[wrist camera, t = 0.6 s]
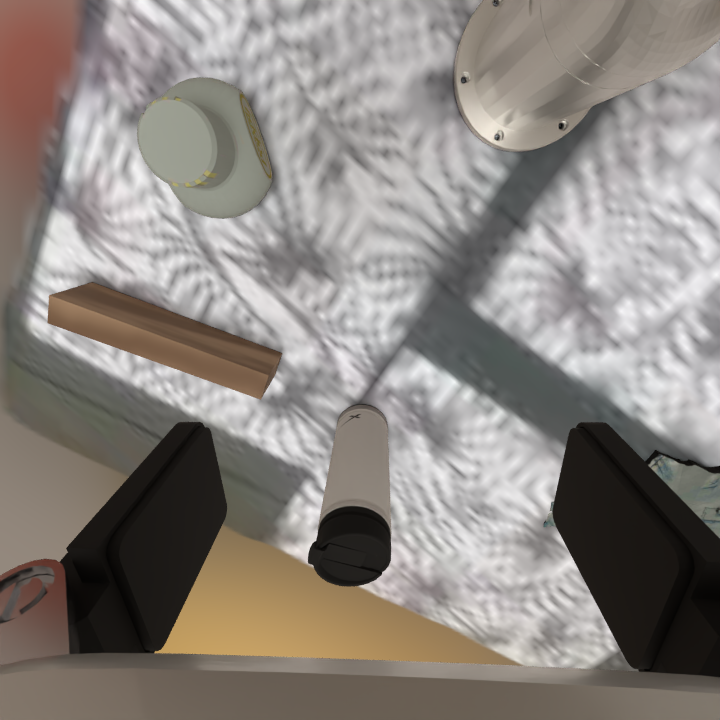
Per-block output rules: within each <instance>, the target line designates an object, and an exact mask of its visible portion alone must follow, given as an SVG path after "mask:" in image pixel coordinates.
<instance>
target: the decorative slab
mask: <svg viewBox="0 0 720 720" xmlns="http://www.w3.org/2000/svg"><path fill="white" fill-rule="evenodd" d="M645 462H646V463H647V465H648V466H649V467H650V468H651V469H652V470H653V471H654V472H655V473H656V474H657V475H658V476H659V477H660V478H661V479H662V480H663V481H664V482H665V483H666V484H667V485H668V486H669V487H670V488H671V489H672V490H673V491H674V492H675V493H676V494H677V495H678V496H679V497H680V498H681V499H682V500H683V501H684V502H685V503H686V504H687V505H688V506H689V507H690V508H691V509H692V510H693V512H694V513H695V514H696V515H697V516H698V517H699V518H700V519H701V520H702V521H703V522H704V523H705V524H706V525H707V526H708V527H709V528H710V529H711V530H712V531H713V532H714V533H715V534H716V535H717V536H718V537H719V538H720V466H719V467H702V466H700V465H699V464H697V463H696V462H693V461H691V460H687V461H680V460H679V459H675V458H672V457H670V456H668V455H665V454H662V453H659V452H658V451H656V450H655V451H654V453H653V454H652V455H651V456H650V457H649V458H648V459H647V460H646V461H645ZM710 472H711V473H710ZM553 505H554V502H552V503H551V509H550V511H553ZM548 526H556V525H555V523H554V520H553V513H549V514H548V519H547V520H545V522H544V526H543V527H548Z"/></svg>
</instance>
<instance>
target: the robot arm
mask: <svg viewBox="0 0 720 720" xmlns="http://www.w3.org/2000/svg"><path fill="white" fill-rule="evenodd" d="M494 1H496V2H497V4H498V6H497V7H495V6H494V5H493V2H494ZM719 40H720V0H483V1H482V2H481V3H480V5H479V6H478V8H477V9H476V11H475V12H474V13H473V15H472V16H471V18H470V20H469V22H468V24H467V26H466V28H465V30H464V33H463V35H462V38H461V40H460V43H459V46H458V50H457V55H456V59H455V66H454V89H455V97H456V100H457V104H458V108H459V111H460V113H461V115H462V117H463V119H464V121H465V123H466V124H467V126H468V127H469V128H470V130H471V131H472V132H473V134H475V135H476V136H477V137H478V138H479V139H480V140H482V141H483V142H484V143H486V144H488V145H490V146H492V147H494V148H496V149H500V150H504V151H508V152H523V151H529V150H535V149H538V148H541V147H544V146H546V145H548V144H550V143H552V142H555V141H557V140H558V139H560V138H561V137H563V136H564V135H566V134H567V133H568V132H570V131H571V130H572V129H573V128H574V127H575V126H576V125H577V124H578V123H579V122H580V121H581V120H582V119H583V118H584V116H585V115H586V114H587V112H588V111H589V110H590V108H591V107H592V106H594V105H596V104H598V103H601V102H603V101H606V100H608V99H610V98H613V97H615V96H617V95H620V94H622V93H625V92H627V91H629V90H632V89H634V88H636V87H639V86H641V85H644V84H646V83H648V82H650V81H653V80H655V79H657V78H660V77H662V76H664V75H666V74H669V73H671V72H673V71H675V70H677V69H679V68H680V67H682V66H684V65H686V64H687V63H689V62H691V61H692V60H694V59H695V58H697V57H698V56H700V55H701V54H702V53H704V52H705V51H706V50H708V49H709V48H710V47H711V46H713V45H714V44H715V43H716V42H717V41H719ZM461 78H465V79H466V83H464V84H463V83H461ZM559 123H560V124H561V125H562V128H561V129H559V127H558V125H559ZM496 134H497V135H499V139H498V140H495V139H494V136H495V135H496ZM552 512H553V520H554V523H555V525H556V527H557V529H558V531H559V533H560V535H561V537H562V539H563V540H564V542H565V544H566V546H567V548H568V550H569V552H570V554H571V556H572V558H573V560H574V561H575V563H576V565H577V567H578V569H579V571H580V573H581V575H582V577H583V579H584V581H585V582H586V584H587V586H588V588H589V590H590V592H591V594H592V596H593V598H594V600H595V602H596V603H597V605H598V607H599V609H600V611H601V613H602V615H603V617H604V619H605V621H606V623H607V624H608V626H609V628H610V630H611V632H612V634H613V636H614V638H615V640H616V642H617V644H618V646H619V647H620V649H621V651H622V653H623V655H624V657H625V659H626V660H627V662H628V663H629V665H630V666H631V667H633V668H634V669H638V670H639V672H637V671H621V670H603V669H580V668H557V667H534V666H511V665H486V664H462V663H437V662H410V661H385V660H358V659H357V660H356V659H355V660H354V659H330V658H301V657H270V656H237V655H206V654H160V653H158V654H157V653H156V654H155V653H154V652H155V651H159V650H161V649H162V647H163V646H164V644H165V643H166V641H167V639H168V637H169V634H170V632H171V630H172V628H173V626H174V624H175V622H176V620H177V618H178V616H179V614H180V612H181V609H182V607H183V605H184V603H185V601H186V599H187V597H188V595H189V593H190V591H191V588H192V587H193V584H194V582H195V580H196V578H197V576H198V574H199V572H200V570H201V568H202V566H203V564H204V561H205V559H206V557H207V555H208V553H209V551H210V549H211V547H212V545H213V543H214V541H215V539H216V536H217V534H218V532H219V530H220V528H221V526H222V524H223V522H224V520H225V517H226V513H227V503H226V498H225V494H224V489H223V485H222V480H221V476H220V471H219V466H218V462H217V457H216V453H215V448H214V444H213V439H212V434H211V431H210V429H209V428H205V427H204V425H203V423H201V422H179V423H177V424H176V425H175V426H174V427H173V428H172V429H171V431H170V432H169V433H168V434H167V435H166V436H165V437H164V438H163V440H162V441H161V442H160V443H159V444H158V445H157V446H156V447H155V449H154V450H153V451H152V452H151V453H150V454H149V455H148V456H147V458H146V459H145V460H144V461H143V462H142V463H141V464H140V465H139V467H138V468H137V469H136V470H135V471H134V472H133V473H132V474H131V476H130V477H129V478H128V479H127V480H126V481H125V482H124V484H123V485H122V486H121V487H120V488H119V489H118V490H117V491H116V493H115V494H114V495H113V496H112V497H111V498H110V499H109V500H108V502H107V503H106V504H105V505H104V506H103V507H102V508H101V509H100V511H99V512H98V513H97V514H96V515H95V516H94V517H93V518H92V520H91V521H90V522H89V523H88V524H87V525H86V526H85V527H84V529H83V530H82V531H81V532H80V533H79V534H78V535H77V537H76V538H75V539H74V540H73V541H72V542H71V543H70V544H69V546H68V547H67V548H66V549H67V551H68V553H67V554H66V555H65V556H64V558H63V559H62V560H61V561H60V562H58V561H57V560H52V559H41V560H34V561H31V562H28V563H25V564H22V565H19V566H17V567H15V568H13V569H11V570H9V571H7V572H5V573H3V574H2V575H0V720H720V538H719V537H718V536H717V535H716V534H715V533H714V532H713V531H712V530H711V529H710V528H709V527H708V526H707V525H706V524H705V523H704V522H703V521H702V520H701V519H700V518H699V517H698V516H697V515H696V514H695V513H694V512H693V510H692V509H691V508H690V507H689V506H688V505H687V504H686V503H685V502H684V501H683V500H682V499H681V498H680V497H679V496H678V495H677V494H676V493H675V492H674V491H673V490H672V489H671V488H670V487H669V486H668V485H667V484H666V483H665V482H664V481H663V480H662V479H661V478H660V477H659V476H658V475H657V474H656V473H655V472H654V471H653V470H652V469H651V468H650V467H649V466H648V465H647V463H646V462H645V461H644V460H643V459H642V458H641V457H640V456H639V455H638V454H637V453H636V452H635V451H634V450H633V449H632V448H631V447H630V446H629V445H628V444H627V443H626V442H625V441H624V440H623V439H622V438H621V437H620V436H619V435H618V434H617V433H616V432H615V431H614V430H613V429H612V428H611V427H610V426H609V425H608V424H607V423H603V422H581V423H579V424H578V425H577V427H576V428H572V429H571V430H570V432H569V436H568V441H567V445H566V450H565V454H564V459H563V464H562V468H561V473H560V477H559V482H558V487H557V491H556V496H555V500H554V505H553V511H552Z"/></svg>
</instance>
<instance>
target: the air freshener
mask: <svg viewBox="0 0 720 720" xmlns="http://www.w3.org/2000/svg"><path fill="white" fill-rule="evenodd" d="M137 137H138V144H139V149H140V151H141V154H142V157H143V159H144V161H145V162H146V164H147V165H148V167H149V168H150V170H151V171H152V172H153V173H154V174H155V175H156V176H157V177H159V178H160V179H161V180H163V181H164V182H166V183H168V184H169V186H170V187H171V189H172V191H173V192H174V194H175V195H176V197H177V198H178V199H179V201H180V202H181V203H182V204H183V205H184V206H185V207H187V208H189V209H190V210H192V211H194V212H196V213H198V214H201V215H203V216H207V217H211V218H222V219H224V218H233V217H236V216H240V215H243V214H244V213H246V212H248V211H250V210H252V209H253V208H254V207H255V206H256V205H258V204H259V203H260V201H261V200H262V199H263V198H264V197H265V195H266V193H267V192H268V190H269V188H270V185H271V183H272V179H273V177H272V170H271V165H270V161H269V157H268V154H267V151H266V147H265V144H264V141H263V138H262V135H261V132H260V129H259V127H258V124H257V121H256V119H255V116H254V114H253V112H252V109H251V107H250V105H249V103H248V101H247V99H246V97H245V96H244V94H243V93H242V92H241V91H240V90H239V89H237V88H236V87H234V86H232V85H230V84H228V83H226V82H224V81H220V80H217V79H213V78H201V77H200V78H193V79H188V80H185V81H182V82H180V83H178V84H176V85H175V86H173V87H172V88H170V89H169V90H168V91H167V92H166V93H165V94H164V95H163V96H162V97H160V98H157V99H156V100H155V101H154V102H152V103H151V102H150V103H149V104H148V105H147V106H146V111H145V113H142V114H141V116H140V119H139V123H138V129H137Z"/></svg>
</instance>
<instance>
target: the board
mask: <svg viewBox="0 0 720 720" xmlns="http://www.w3.org/2000/svg"><path fill="white" fill-rule="evenodd" d="M48 323H49V324H52V325H54V326H57V327H60V328H63V329H66V330H68V331H71V332H74V333H77V334H80V335H82V336H85V337H88V338H91V339H93V340H96V341H99V342H102V343H105V344H107V345H110V346H113V347H116V348H119V349H121V350H124V351H127V352H130V353H133V354H135V355H138V356H141V357H144V358H147V359H149V360H152V361H155V362H158V363H160V364H163V365H166V366H169V367H172V368H174V369H177V370H180V371H183V372H186V373H188V374H191V375H194V376H197V377H200V378H202V379H205V380H208V381H211V382H213V383H216V384H219V385H222V386H225V387H227V388H230V389H233V390H236V391H239V392H241V393H244V394H247V395H250V396H253V397H255V398H258V399H261V398H262V396H263V395H264V393H265V391H266V390H267V388H268V386H269V384H270V383H271V381H272V379H273V378H274V376H275V374H276V371H277V368H278V365H279V362H280V359H281V356H282V353H280V352H277V351H275V350H272V349H269V348H267V347H264V346H261V345H259V344H256V343H253V342H251V341H248V340H245V339H243V338H240V337H237V336H235V335H232V334H229V333H227V332H224V331H221V330H219V329H216V328H213V327H211V326H208V325H205V324H202V323H200V322H197V321H194V320H192V319H189V318H186V317H184V316H181V315H178V314H176V313H173V312H170V311H168V310H165V309H162V308H160V307H157V306H154V305H152V304H149V303H146V302H144V301H141V300H138V299H136V298H133V297H130V296H128V295H125V294H122V293H120V292H117V291H114V290H112V289H109V288H106V287H103V286H101V285H98V284H95V283H93V282H92V283H88V284H85V285H82V286H78V287H75V288H72V289H68V290H65V291H62V292H58V293H55V294H52V295H49V308H48Z"/></svg>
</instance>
